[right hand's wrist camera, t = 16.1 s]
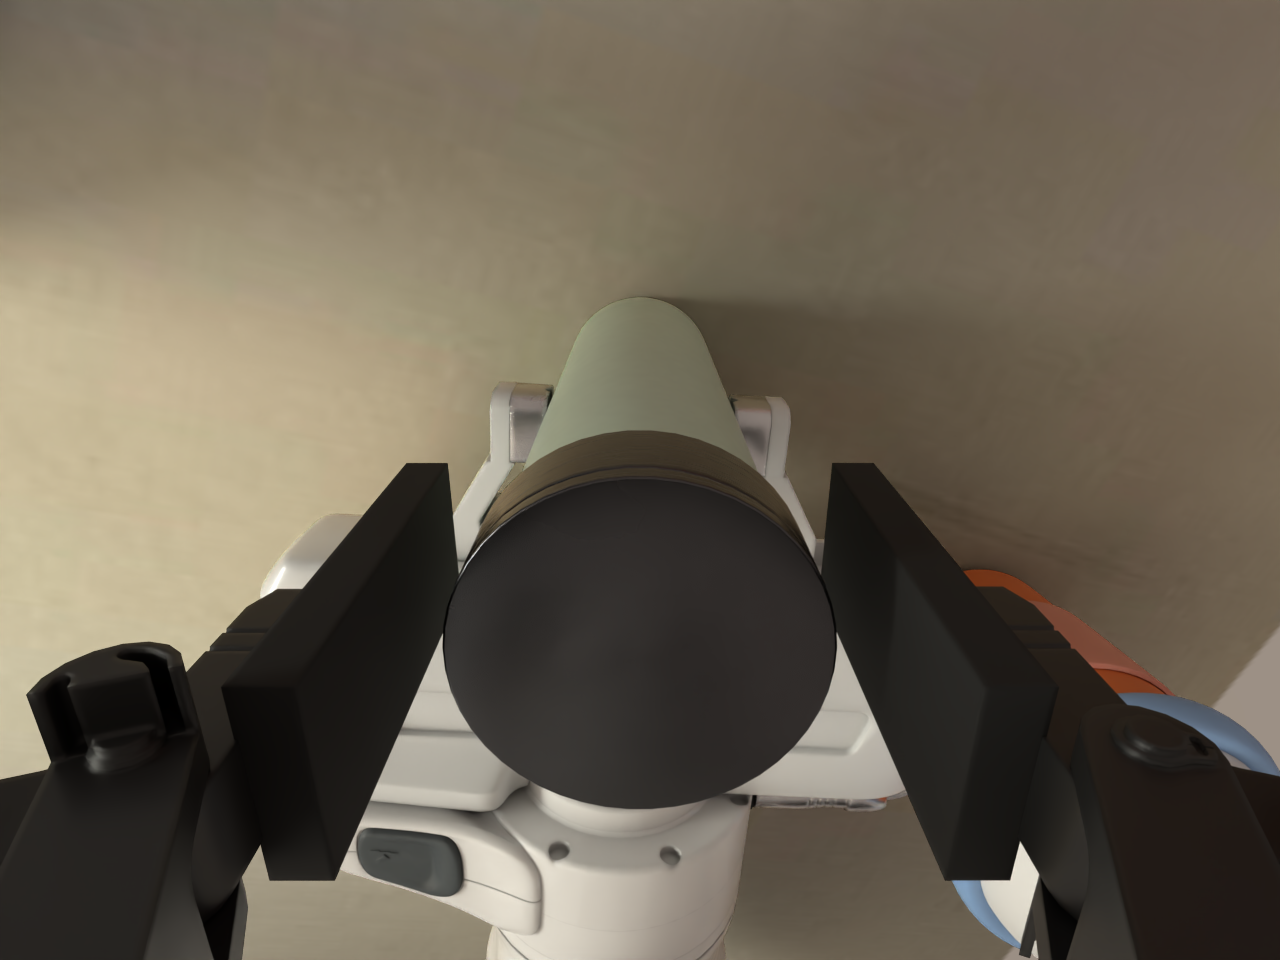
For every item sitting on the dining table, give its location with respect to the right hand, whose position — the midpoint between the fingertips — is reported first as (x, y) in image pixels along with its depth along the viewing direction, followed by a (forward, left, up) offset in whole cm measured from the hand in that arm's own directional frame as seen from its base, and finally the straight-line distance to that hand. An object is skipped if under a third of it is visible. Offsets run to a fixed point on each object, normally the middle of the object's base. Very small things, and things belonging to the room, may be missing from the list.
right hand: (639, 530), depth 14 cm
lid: (0, 0, +4) cm, 4 cm away
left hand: (0, +1, -6) cm, 7 cm away
